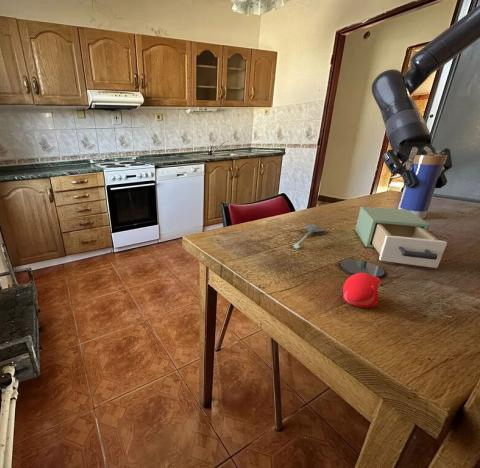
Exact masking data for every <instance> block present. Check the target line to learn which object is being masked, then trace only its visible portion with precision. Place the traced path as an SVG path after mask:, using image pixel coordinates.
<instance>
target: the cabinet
mask: <svg viewBox="0 0 480 468" xmlns="http://www.w3.org/2000/svg"><path fill="white" fill-rule="evenodd" d="M376 223H384V224H396V225H408V226H420V227H422V228H423V229H425V230H426V231H427V232H429V229H430V227H431V224H430V223H428V222H427V221H426V220H425V219H421V218H420V217H418V216H417V215H415V214H414V213H412V212H411V211H409V210H405V209H398V208H392V207H391V208H390V207H375V206H360V209H359V213H358V217H357V222H356V225H355V229H354V231H355V233H356V234H357V235H358V237H359V238H360V240H361V242H362V243H363V245H364V246H365V247H366V248H373V249H376V248H375V247H374V246H373V244H372V243H371V238H372V235H373V231H374V228H375V224H376Z"/></svg>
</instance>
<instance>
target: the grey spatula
mask: <svg viewBox="0 0 480 468" xmlns="http://www.w3.org/2000/svg"><path fill="white" fill-rule="evenodd" d="M304 228H305V229H306V230H307V232H306V234H304V236H303V237H302V238H301V239H300V240H298V242H297V243H293V248H294V249H300V248H301V247H300V246H301V244H303V242H304V241H305V240H306V239H307V238H308V237H309V236H310V235H311V234H312V233H318V232H325V231H326V229H325V228H324V227H323V226H321V225H317V224H306V225H305V226H304Z"/></svg>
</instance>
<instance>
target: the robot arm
mask: <svg viewBox="0 0 480 468" xmlns="http://www.w3.org/2000/svg"><path fill="white" fill-rule="evenodd" d="M478 40H480V4H479V5H477V6H476V7H474V8H473V9H472V10H470V11H469V12H468V13H467V14H465V15H464V16H463V17H461V18H460V19H458V20H457V21H456V22H454V23H453V24H452V25H450V26H449V27H448V28H446V29H445V30H443V31H442V32H441V33H440V34H438V35H437V36H436V37H434V38H432V40H430V41H429V42H428V43H427V44H425V45H424V46H423V47H421V49H419V50H418V51H417V52H415V53H414V54H413V55H412V56H411V57H410V59H409V67H408V70H407V71H406V72H405V73H404V74H403V72H402V71H400V70H398V69H395V68H394V69H393V68H392V69H386V70H384V71H382V72H381V73H379V74H377V76H375V78H374V79H373V81H372V83H371V85H370V86H371V88H370V89H371V95H372V97H373V98H374V101H375V102H376V104H377V106H378V108H379V110H380V113H381V118H382V121H383V123H384V128H385V133H386V137H387V140H388V143H389V145H390V149H388V150H387V151H386V152H385V153H384V154H383V155H382V156H381V159H382V161H383V162H384V165H386V167H387V169H388V170H389V172H390V174H391V175H399V176H400V177H402V180H403V183H404V185H405V187H406V186H407V187H408V188H414V187H415V186H416V185H417V184H418V182H417V179H416V176H415V174H414V171H411V170H412V168H413V161H414V157H415V155H416V154H443V155H447V158H446V161H445V164H444V165H443V168H442V171H441V174H440V177H439V180H438V183H437V185H436V188H435V189H442V188H443V187H444V186H446V185H447V184H448V179H447V176H446V174H445V173H446V172H447V171H449V170H450V169H452V168H453V160H452V153H451V149H450V148H448V147H445V148H443V150H441V149H436V148H435V146H433V145H432V140H433V137H432V134H431V132H430V129H429V128H428V125H427V122H426V120H425V118H424V116H423V114H422V113H421V112H420V110H419V108H418V105H417V103H416V101H415V100H414V98H413V97H412V96H411V95H413V94H414V93H415V92H416V91H417V90H418V89H419V88H420V87H421V86H422V85H423V84H424V83H425V82H426V80H428V78H430V76H431V75H432V74H434V73H435V72H437V71H438V70H439V69H441V68H442V67H445V65H447V64H448V63H449V62H451V61H452V60H453V59H455V58H456V57H458V56H459V55H460V54H462V53H463V52H464V51H466V50H468V48H469V47H471V46H472V45H474V44H475V43H476V42H477V41H478Z"/></svg>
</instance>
